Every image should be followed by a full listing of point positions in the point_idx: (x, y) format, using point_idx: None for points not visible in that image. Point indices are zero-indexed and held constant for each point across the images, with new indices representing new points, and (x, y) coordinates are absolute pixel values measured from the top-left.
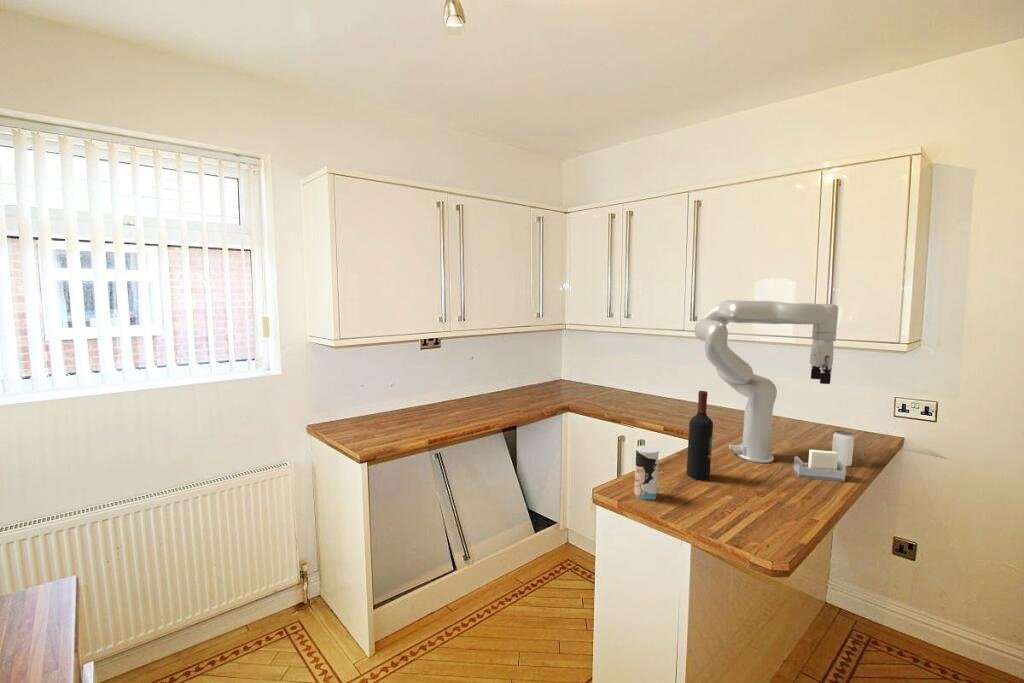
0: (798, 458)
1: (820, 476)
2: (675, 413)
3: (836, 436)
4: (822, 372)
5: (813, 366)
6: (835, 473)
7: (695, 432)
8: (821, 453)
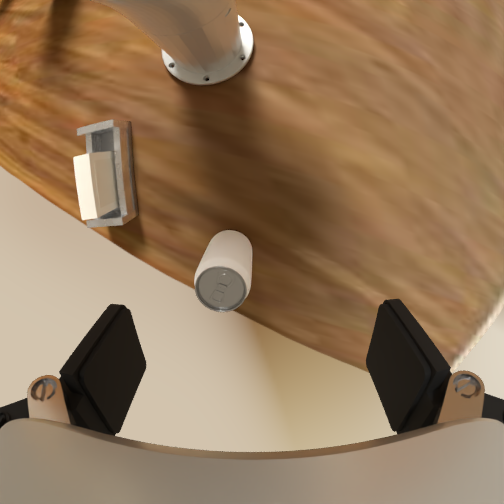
0: (99, 127)
1: None
2: (500, 9)
3: (208, 261)
4: (58, 386)
5: (439, 411)
6: None
7: None
8: (77, 179)
